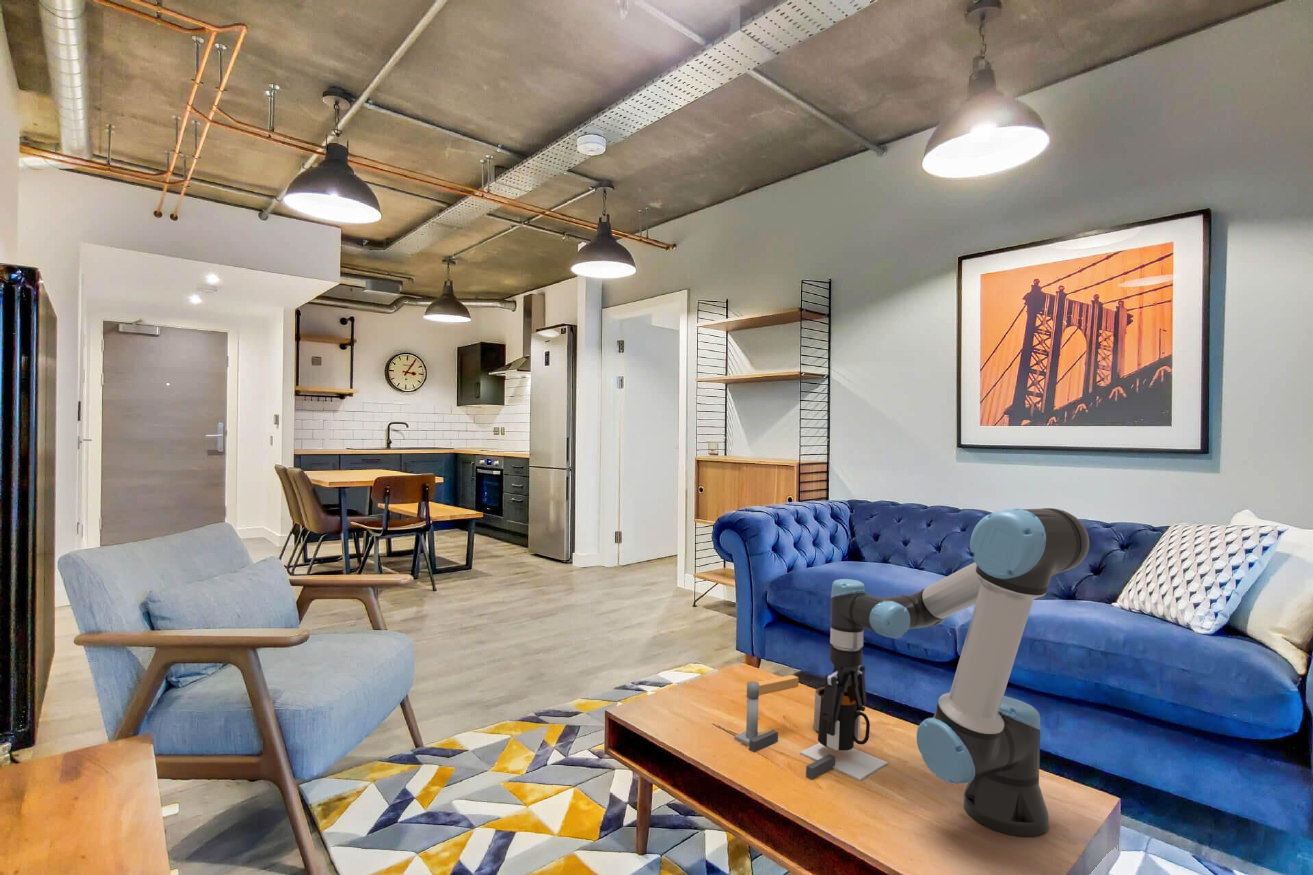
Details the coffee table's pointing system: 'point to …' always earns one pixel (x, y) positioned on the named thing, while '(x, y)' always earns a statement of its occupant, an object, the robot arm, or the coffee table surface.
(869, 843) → the coffee table surface
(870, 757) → the mat
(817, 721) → the planter
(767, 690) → the wooden bar
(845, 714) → the mug
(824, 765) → the dock
